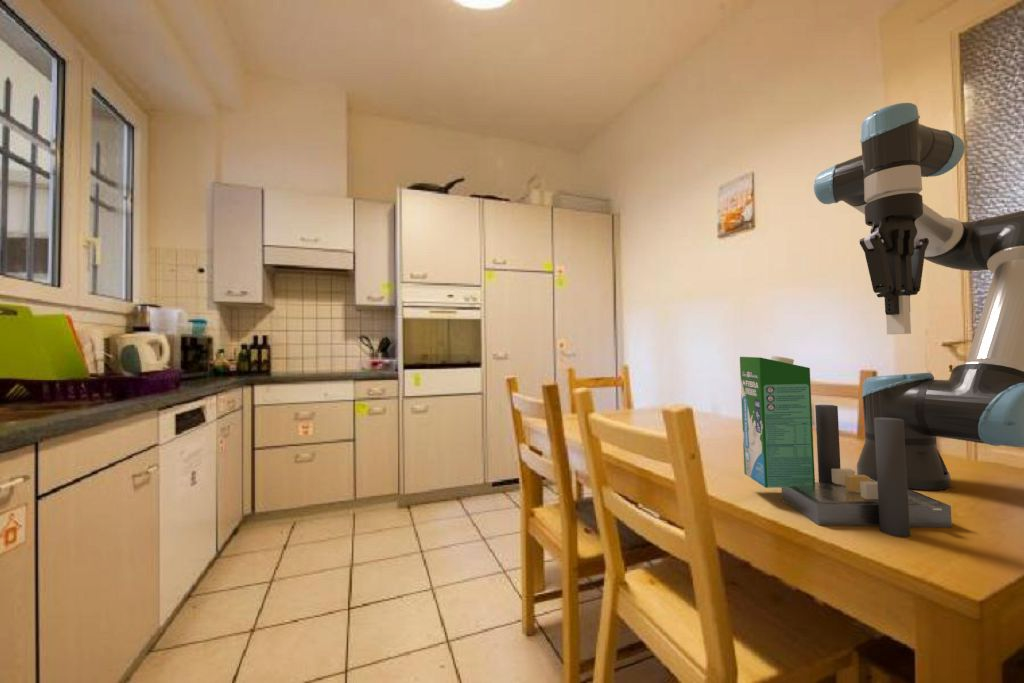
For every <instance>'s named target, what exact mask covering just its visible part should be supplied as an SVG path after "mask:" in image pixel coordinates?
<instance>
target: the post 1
mask: <svg viewBox="0 0 1024 683" xmlns="http://www.w3.org/2000/svg"><path fill="white" fill-rule="evenodd" d="M814 406H815V407H814V410H815V425H816V426H815V430H816V453H817V454H816V455H817V472H818V473H817V474H818V477H817V478H818V482H832V472H831V469H842V468H841V452H840V450H841V449H840V433H839V432H840V429H839V409H838V408H839V407H838V405H835V404H815V405H814Z"/></svg>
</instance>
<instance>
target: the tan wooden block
mask: <svg viewBox="0 0 1024 683" xmlns="http://www.w3.org/2000/svg"><path fill="white" fill-rule="evenodd" d="M860 482H870V477H868V476H866V475H858V474H855V475H845V485H846V489H847V490H849V491H861V489H860Z"/></svg>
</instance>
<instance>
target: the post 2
mask: <svg viewBox="0 0 1024 683" xmlns="http://www.w3.org/2000/svg"><path fill="white" fill-rule="evenodd" d="M874 429H875V448H876V467H877V486H878V505H879V523H880V526H879V531H880V532H881V533H883V534H885V535H888V536H892V537H898V538H909V537H911V527H910V524H909V505H908V489H909V488H908V487H907V469H906V451H905V433H904V420H903V419H898V418H885V417H878V418H874Z"/></svg>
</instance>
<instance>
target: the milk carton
mask: <svg viewBox="0 0 1024 683" xmlns="http://www.w3.org/2000/svg"><path fill="white" fill-rule="evenodd" d="M794 362H795V360H794V358H789V357H784V356H777V355H771V358H765V357H761V356H760V357H758V356H739V370H740V394H741V395H740V396H741V398H740V399H741V401H740V402H741V419H742V420H741V421H742V444H743V445H742V446H743V471H744V475H745V476H747V477H749V478H750V479H751V480H753V481H755V482H756V483H758V484H759V485H761V486H762V487H763V488H766V489H767V488H768V489H769V488H770V489H773V488H775V489H776V488H777V489H780V488H781V489H782V488H789V487H794V486H815V482H816V478H815V477H816V476H815V455H814V452H815V450H814V434H813V430H814V429H813V411H812V410H813V409H812V388H811V387H812V385H811V368H810V367H808V366H807V367H806V366H803V365H797V364H794Z"/></svg>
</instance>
